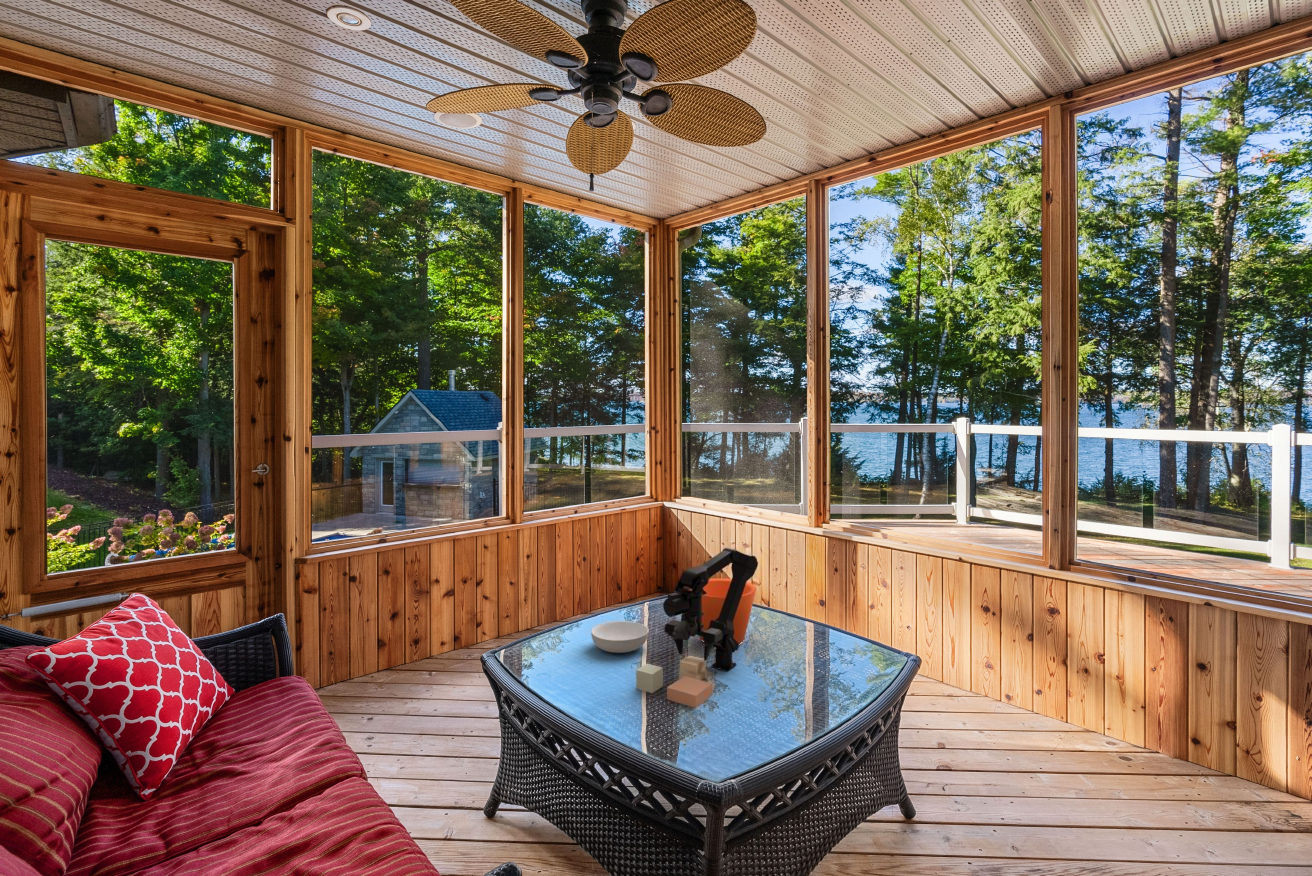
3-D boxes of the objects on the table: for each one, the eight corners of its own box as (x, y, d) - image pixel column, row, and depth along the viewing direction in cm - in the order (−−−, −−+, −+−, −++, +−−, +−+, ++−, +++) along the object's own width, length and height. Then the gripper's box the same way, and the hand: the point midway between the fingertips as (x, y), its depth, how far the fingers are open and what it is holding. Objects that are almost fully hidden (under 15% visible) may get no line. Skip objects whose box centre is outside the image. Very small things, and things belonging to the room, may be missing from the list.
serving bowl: (659, 644, 238) (659, 626, 238) (626, 664, 221) (626, 644, 220) (613, 634, 249) (613, 616, 249) (579, 651, 232) (579, 632, 231)
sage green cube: (647, 681, 207) (647, 663, 206) (662, 686, 203) (662, 667, 203) (636, 688, 202) (636, 669, 201) (652, 693, 198) (652, 674, 198)
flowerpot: (691, 626, 258) (691, 577, 257) (755, 629, 254) (755, 579, 253) (686, 650, 233) (686, 595, 232) (756, 653, 229) (756, 598, 228)
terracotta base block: (684, 688, 203) (684, 675, 202) (712, 696, 197) (712, 683, 197) (667, 700, 194) (667, 687, 194) (695, 709, 189) (695, 695, 189)
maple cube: (689, 673, 213) (689, 655, 213) (705, 677, 210) (705, 659, 210) (679, 679, 208) (679, 661, 208) (696, 684, 205) (696, 665, 205)
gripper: (654, 611, 206) (655, 659, 207) (706, 622, 196) (706, 672, 197) (673, 602, 216) (673, 648, 216) (723, 612, 205) (723, 660, 206)
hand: (692, 657), depth 209 cm, fingers open, 9 cm apart
